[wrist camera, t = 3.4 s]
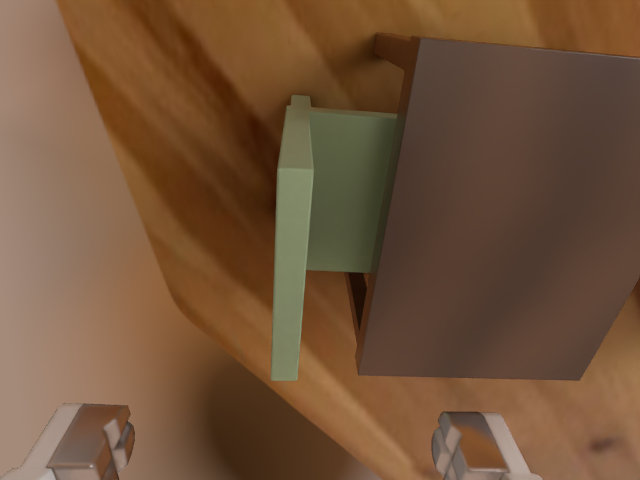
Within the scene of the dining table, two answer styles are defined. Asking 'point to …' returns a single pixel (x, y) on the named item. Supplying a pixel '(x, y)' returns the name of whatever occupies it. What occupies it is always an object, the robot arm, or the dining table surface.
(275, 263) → the chair
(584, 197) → the toy table
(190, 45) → the dining table surface
